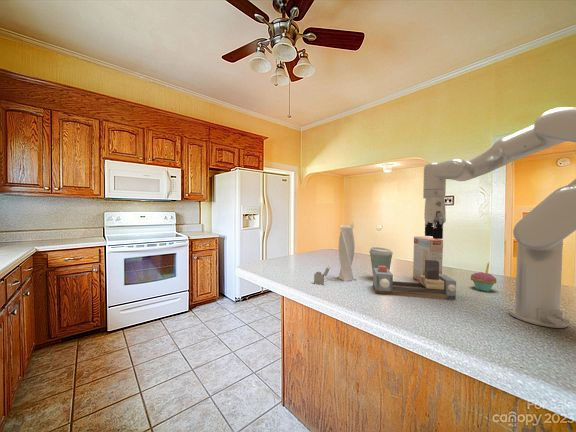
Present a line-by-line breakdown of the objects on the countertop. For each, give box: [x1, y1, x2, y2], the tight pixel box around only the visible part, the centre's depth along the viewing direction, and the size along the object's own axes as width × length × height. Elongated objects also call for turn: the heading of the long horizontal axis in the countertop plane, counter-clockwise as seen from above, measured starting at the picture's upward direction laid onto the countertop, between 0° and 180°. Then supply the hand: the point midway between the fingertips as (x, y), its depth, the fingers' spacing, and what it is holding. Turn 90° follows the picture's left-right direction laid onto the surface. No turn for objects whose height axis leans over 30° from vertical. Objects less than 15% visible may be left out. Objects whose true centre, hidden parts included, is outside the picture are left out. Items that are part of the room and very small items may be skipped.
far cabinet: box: [372, 268, 394, 296], centre depth 98 cm, size 11×6×8 cm, turn 168°
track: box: [372, 280, 457, 301], centre depth 96 cm, size 10×28×3 cm, turn 78°
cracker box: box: [412, 236, 444, 283], centre depth 109 cm, size 14×6×21 cm, turn 179°
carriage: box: [419, 260, 444, 290], centre depth 95 cm, size 8×6×10 cm
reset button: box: [378, 265, 387, 272], centre depth 99 cm, size 3×3×4 cm
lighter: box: [313, 266, 331, 286], centre depth 107 cm, size 7×2×8 cm, turn 67°
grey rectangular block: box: [439, 273, 457, 301], centre depth 93 cm, size 11×3×7 cm, turn 168°
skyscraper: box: [336, 222, 358, 282], centre depth 114 cm, size 8×8×28 cm
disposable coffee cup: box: [368, 246, 393, 272], centre depth 115 cm, size 11×11×15 cm
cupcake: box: [470, 261, 497, 292], centre depth 100 cm, size 9×8×12 cm
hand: (433, 237), depth 95 cm, fingers open, 9 cm apart
